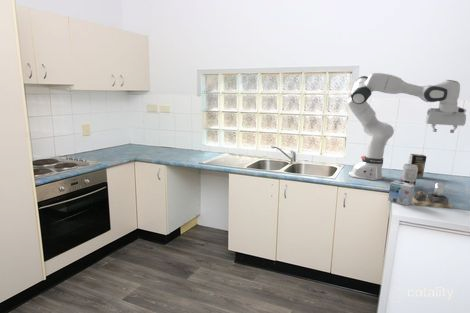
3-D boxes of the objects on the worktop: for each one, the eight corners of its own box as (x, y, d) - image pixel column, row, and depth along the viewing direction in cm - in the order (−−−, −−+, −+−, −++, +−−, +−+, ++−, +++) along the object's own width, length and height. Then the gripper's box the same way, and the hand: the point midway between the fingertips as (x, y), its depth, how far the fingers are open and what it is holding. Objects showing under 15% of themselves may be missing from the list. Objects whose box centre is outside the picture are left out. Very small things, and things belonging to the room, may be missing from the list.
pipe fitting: (434, 201, 174) (437, 184, 172) (431, 199, 178) (434, 182, 176) (443, 202, 173) (446, 185, 171) (439, 199, 178) (443, 182, 175)
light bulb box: (387, 200, 178) (390, 182, 176) (392, 197, 183) (394, 179, 180) (408, 206, 171) (411, 187, 168) (412, 203, 175) (415, 184, 173)
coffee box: (409, 177, 227) (412, 155, 224) (406, 174, 233) (409, 153, 230) (423, 178, 226) (426, 156, 222) (419, 176, 232) (423, 154, 228)
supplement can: (397, 186, 205) (400, 163, 201) (406, 185, 207) (410, 163, 204) (407, 190, 197) (411, 167, 194) (417, 189, 200) (421, 166, 197)
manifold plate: (415, 205, 173) (417, 194, 171) (407, 197, 184) (409, 187, 183) (451, 208, 170) (453, 197, 168) (441, 200, 181) (443, 190, 180)
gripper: (430, 108, 184) (426, 132, 187) (469, 110, 180) (464, 134, 183) (425, 107, 190) (422, 130, 193) (463, 109, 186) (459, 132, 189)
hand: (443, 132), depth 188 cm, fingers open, 8 cm apart
